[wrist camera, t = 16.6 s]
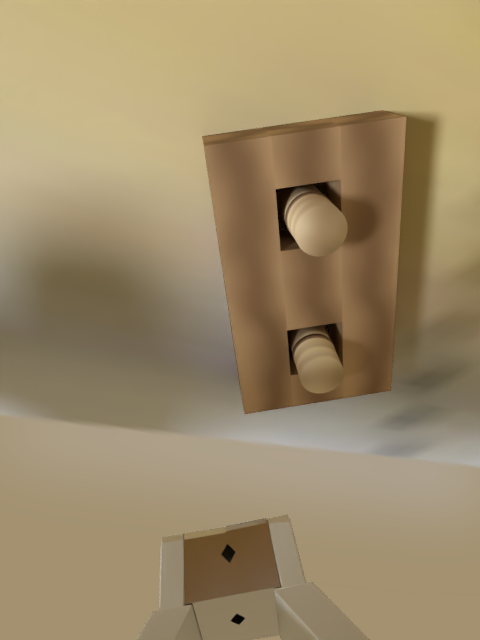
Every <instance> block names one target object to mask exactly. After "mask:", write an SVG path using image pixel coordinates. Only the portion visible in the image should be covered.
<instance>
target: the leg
mask: <svg viewBox="0 0 480 640" xmlns="http://www.w3.org/2000/svg"><path fill="white" fill-rule="evenodd" d="M287 337H288V340H289V344H290V347H291V351H292V356H293V360H294V363H295V364H296V367H297V371H298V374H299V378H300V381H301V384H302V386H303V387H304V388H305V389H306V390H308V391H310V392H312V393H326V392H329V391H332V390H333V389H335V388H336V387H338V386H339V385H340V383H341V382H342V380H343V378H344V369H343V366H342V364H341V362H340V360H339V357H338V355H337V353H336V350H335V346H334V344H333V342H332V341H331V339H330V337H329V335H328V332H327V330H326V328H325V325H319V326H313V327H307V328H300V329H294V330H287Z"/></svg>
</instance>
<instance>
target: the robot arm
mask: <svg viewBox="0 0 480 640" xmlns="http://www.w3.org/2000/svg"><path fill="white" fill-rule="evenodd" d="M159 596H160V597H159V610H158V611H154V612H152V613H151V615H150V617H149V619H148V620H147V622H146V624H145V626H144V627H143V629H142V631H141V633H140V634H139V636H138V638H137V640H253V639H259V638H265V637H271V636H277V635H280V638H281V639H282V640H370V639H369V638H368V637H367V636H366V635H365V634H364V633H363V632H362V631H361V630H360V629H359V628H358V627H357V626H356V625H355V624H354V623H353V622H352V621H351V620H350V619H349V618H348V617H347V616H346V615H345V614H344V613H343V612H342V611H341V610H340V609H339V608H338V607H337V606H336V605H335V604H334V603H333V602H332V601H331V600H330V599H329V598H328V597H327V596H326V595H325V594H324V593H323V592H322V591H321V590H320V589H319V588H318V587H317V586H316V585H315V584H314V583H313V582H308V583H306V580H305V576H304V572H303V569H302V564H301V560H300V557H299V552H298V549H297V545H296V541H295V537H294V533H293V529H292V525H291V521H290V518H289V517H288V515H284V516H279V517H274V518H269V519H266V518H265V519H260V520H254V521H249V522H245V523H240V524H234V525H229V526H226V527H222V528H216V529H210V530H203V531H197V532H191V533H184V534H178V535H172V536H167V537H163V538H162V542H161V558H160V593H159Z"/></svg>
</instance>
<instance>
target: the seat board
mask: <svg viewBox="0 0 480 640" xmlns="http://www.w3.org/2000/svg"><path fill="white" fill-rule="evenodd" d="M405 134H406V116H402V115H398V114H394V113H390V112H386V111H375V112H368V113H361V114H354V115H347V116H340V117H333V118H326V119H319V120H312V121H306V122H299V123H292V124H285V125H278V126H271V127H264V128H257V129H250V130H243V131H236V132H229V133H222V134H215V135H208V136H202V137H203V144H204V150H205V157H206V164H207V170H208V177H209V184H210V190H211V197H212V203H213V210H214V217H215V223H216V230H217V236H218V243H219V250H220V256H221V263H222V269H223V276H224V283H225V289H226V296H227V302H228V309H229V316H230V322H231V329H232V335H233V342H234V349H235V355H236V362H237V369H238V375H239V382H240V388H241V394H242V400H243V406H244V412H245V414H248V413H255V412H261V411H267V410H273V409H279V408H286V407H292V406H298V405H304V404H310V403H317V402H323V401H329V400H335V399H341V398H348V397H354V396H360V395H366V394H372V393H379V392H385V391H391V382H392V364H393V346H394V329H395V311H396V293H397V276H398V258H399V240H400V222H401V205H402V187H403V169H404V152H405ZM321 182H325V189H326V196H327V197H328V198H329V199H330V200H331V202H332V203H333V205H335V206H336V207H337V208H338V209H339V210H340V211H341V212H342V214H343V215H344V216H345V218H346V221H347V227H348V229H347V235H346V238H345V240H344V242H343V244H342V245H341V246H340V247H339V248H338V249H337V250H336V251H334V252H333V253H331V254H329V255H326V256H320V257H317V256H311V255H309V254H307V253H305V252H304V251H303V250H301V248H300V247H299V245H298V244H297V242H296V240H295V239H294V237H293V236H292V235H291V234H290V232H289V230H285V231H279V225H278V213H277V200H276V189H280V188H287V187H294V186H300V185H307V184H314V183H321ZM326 324H329V337H330V339H331V341H332V342H333V344H334V346H335V350H336V353H337V355H338V357H339V360H340V362H341V364H342V366H343V369H344V378H343V380H342V382H341V383H340V385H339V386H338V387H336V388H335V389H333V390H332V391H329V392H326V393H312V392H310V391H308V390H306V389H305V388H304V387H303V386H302V384H301V381H300V378H299V374H298V371H297V367H296V364H295V363H294V360H293V356H292V351H291V347H289V348H288V337H287V330H294V329H300V328H307V327H313V326H319V325H326Z"/></svg>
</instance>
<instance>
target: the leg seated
mask: <svg viewBox="0 0 480 640" xmlns="http://www.w3.org/2000/svg"><path fill="white" fill-rule="evenodd" d="M276 200H277V210H278V212H279V214H280V215H281V217H282V219H283V220H284V222H285V224H286V226H287V229H288V230H289V232H290V234H291V235H292V236H293V237H294V239H295V240H296V242H297V244H298V245H299V247H300V248H301V250H303V251H304V252H305V253H307V254H309V255H311V256H317V257H320V256H326V255H329V254H331V253H333V252H334V251H336V250H337V249H338V248H339V247H340V246H341V245H342V244H343V242H344V240H345V238H346V235H347V229H348V227H347V221H346V218H345V216H344V215H343V214H342V212H341V211H340V210H339V209H338V208H337V207H336V206H335V205H333V203H332V202H331V200H330V199H329V198H328V197H327V196H325V195H324V194H322V193H321V192H320V191H319V190H318V189H317V188H316V187H315V186H314V185H313V184H307V185H300V186H294V187H287V188H280V190H279V191H278V194H277V197H276Z"/></svg>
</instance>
